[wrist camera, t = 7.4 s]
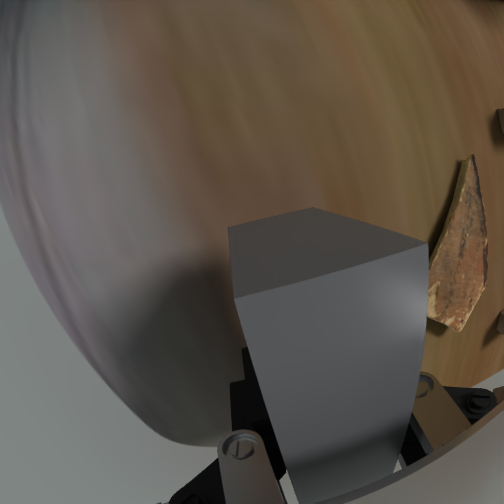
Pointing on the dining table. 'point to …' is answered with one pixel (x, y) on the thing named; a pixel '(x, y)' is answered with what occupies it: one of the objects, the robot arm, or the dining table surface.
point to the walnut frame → (503, 320)
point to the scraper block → (332, 341)
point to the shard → (460, 254)
